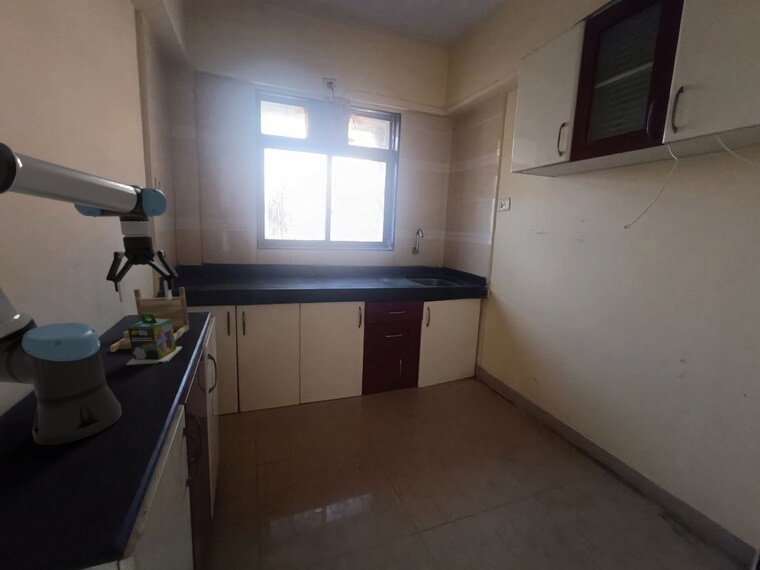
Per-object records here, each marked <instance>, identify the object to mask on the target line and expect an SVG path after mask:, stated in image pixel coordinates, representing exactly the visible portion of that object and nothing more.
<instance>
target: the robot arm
mask: <svg viewBox="0 0 760 570" xmlns="http://www.w3.org/2000/svg"><path fill="white" fill-rule="evenodd" d="M7 192H10V193H15V194H20V195H21V194H22V195H26V196H27V195H28V196H33V197H37V198H42V199H48V200H53V201H59V202H65V203H68V204H69V203H71V204H73V205H74V208H75V210H76V211H77V212H78V213H79V214H81V215H82V216H85V217H94V218H98V217H99V218H100V217H101V218H103V217H105V218H106V217H111V218H112V217H116V218H117V217H118V218H119V222H120V229H121V231H120V232H121V234H122V235H123V238H122V242H123V248H124V251H121V250H117V251H114V252H113V260H112V262H111V265H110V267H109V269H108V272H107V275H106V278H105V279H106V280H105V281H109V282H113V285H114V291H115V292H116V293H118V298H119V302H120V303H124V302H127V301H128V295H127V289H126V283H125V280H123V279H124V277H125V276H126V274H127V273H128V272H129V271H130V269H132V267H133V266H139V265H141V266H146V265H148V266H150V267H151V268H152V269H154V270H155V271H156V273H158V274H159V275H160V276H161V277H162V278H164V279H165V280H163V287H164V296H165V297H166V300H170V299H172V297H173V295H172V290H173V289H174V288H175V287H174V286H175V285H174V279H176V278H178V277H179V273H178V272H177V270H176V268H174V266H173V264H171V262H170V261H169V259H168V258H167V256H166V252H165V250H163V249H161V250H157V251H156V250H154V245H153V237H152V236H151V234H152V231H151V226H150V224H151V223H150V217H151V218H152V217H158V216H159V217H160V216H162V215H164V213H166V211H167V209H168V201H167V197H166V195H165V194H164V193H163V192H162V191H161V190H159V189H157V188H151V187H143V186H141V185H137V184H126V183H123V182H119V181H117V180H112V179H110V178H106V177H102V176H99V175H95V174H91V173H88V172H85V171H81V170H77V169H74V168H70V167H67V166H63V165H60V164H57V163H53V162H50V161H47V160H44V159H43V160H42V159H39V158H38V157H37V158H36V157H32V156H30V155H26V154H24V153H23V154H22V153H19V152H15V151H14V150H13V149H12V148H11V147H10V146H8V145H7V144H6V143H3V142H2V141H1V142H0V195H3V194H5V193H7ZM124 257H125V258H126V259H127V260H126V261H125V262H124V265H123V266H122V267H121V269H120V266H121V263H122V261H123V259H124ZM154 257H156V258H158V260H159V261H160V262H161V263H162V265H160V264H159V263H158V261H157V260H156V259H155V258H154ZM119 269H120V270H119ZM102 355H103V353H102V349H101V342H100V339H99V338H98V334H97V331H96V329H95V328H94V327H92V326H91V325H89V324H87V323H81V322H80V323H79V322H66V323H61V322H57V323H50V324H45V325H40V326H38V325H37V324H36V322H35V320H34V318H33V317H32V316H31V314H30V313H25V312H20V311H17V310H16V308H15V307H14V305H13V303H12V302H11V301H10V299H9V298H8V296H7V295H6V293H5V291H4V290H3V289H2V287H1V286H0V383H11V384H12V383H13V384H27V385H32V386H33V387H32V388H33V390H34V394H35V397H36V401H37V407H36V413H35V416H34V421H33V425H32V432H31V433H32V436H33V437H32V438H33V441H34V443H35V442H36V443H38V444H41V445H57V444H64V443H69V442H73V441H77V440H80V439H83V438H85V437H88V436H91V435H93V434H95V433H97V434H99V433H101V432H102V431H101V430H103V431H105V430H107V429H108V428H110V427H112V424H113V425H114V424H115V423H116V422H118V420H120V418H121V416H122V414H123V413H122V410H123V409H122V406H121V403H120V401H119V400H118V399H117V397H116V396H115V394H114V393H113V391H112V389H110V387H109V386H108V383H107V378H106V373H105V372H106V371H105V365H104V361H103V356H102ZM109 426H110V427H109ZM107 427H108V428H107ZM106 428H107V429H106ZM104 429H105V430H104ZM100 431H101V432H100ZM98 432H99V433H98ZM95 435H96V434H95ZM93 436H94V435H93ZM91 437H92V436H91ZM88 438H89V437H88ZM83 440H84V439H83ZM80 441H81V440H80ZM77 442H78V441H77ZM36 443H35V444H36ZM73 443H74V442H73ZM38 444H37V445H38ZM69 444H70V443H69ZM41 445H40V446H41Z"/></svg>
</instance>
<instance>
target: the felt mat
mask: <svg viewBox="0 0 760 570" xmlns="http://www.w3.org/2000/svg"><path fill="white" fill-rule="evenodd" d="M182 348H183V346H176V349H175V350H173V351H172V352H170V353H169V354H167V355H165V356H164V357H162V358H161V359H159V360H149V359H134V358H132V359H130V360H129V361H127V362H126V366H135V365H136V366H137V365H145V364H147V365H148V364H159V362H162V363H168V362H169V361H170V360H171V359H172V358H173V357H174V356H176V354H178V353H179V351H181V350H182ZM167 361H168V362H167Z"/></svg>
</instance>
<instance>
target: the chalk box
mask: <svg viewBox="0 0 760 570" xmlns="http://www.w3.org/2000/svg"><path fill="white" fill-rule="evenodd" d="M140 317H141V319H142V322H139V321H138V322H136V323H135V324H132V325H130V326H128V327H127V330H128V332H129V337H130V343H131V347H132V349H131V352H132V357H133V358H134V359H149V360H159V359H161V358H162V357H164V356H165V355H167V354H169V353H170V352H172V351H173V350H175V349H176V347H177V345H176V341H175V338H174V333H175V332H174V330H173V327H172V321H171V319H155V317H154V315H153V314H140ZM145 317H150V318H151V319H147V320H146V319H145ZM133 358H132V359H133Z"/></svg>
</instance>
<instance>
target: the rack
mask: <svg viewBox="0 0 760 570" xmlns="http://www.w3.org/2000/svg"><path fill="white" fill-rule="evenodd" d="M133 293H134V300H135V305H136V310H137V312H136V313H137V317H138V322H142V319H141V317H140V314H153V315H154V317H155V319H171V321H172V327H173V331H175V332H173V333H174V338H175V342H176V341H177V340H178V339H179V338H181V336H182V334H183V333H184V332H185V333H186V332H188V330H189V329H190V321H189V320H190V319H189V313H188V305H187V299H186V291H185V287H184V286H183V287H182V286H181V287H178V293H179V296H172V299H170V300H166V296H165V297H145V298H142V294H141V289H140V288H136V289H133ZM145 319H146V320H147V319H151V318H150V317H145ZM185 333H184V334H185ZM184 334H183V335H184ZM122 342H124V337H123V338H122V339H120V340H118V341H117V342H115V343H113V344H111V345H110V346H109V349H110V353H114V352H116V351H118V350H120V349H121V348H120V344H121V343H122Z"/></svg>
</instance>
